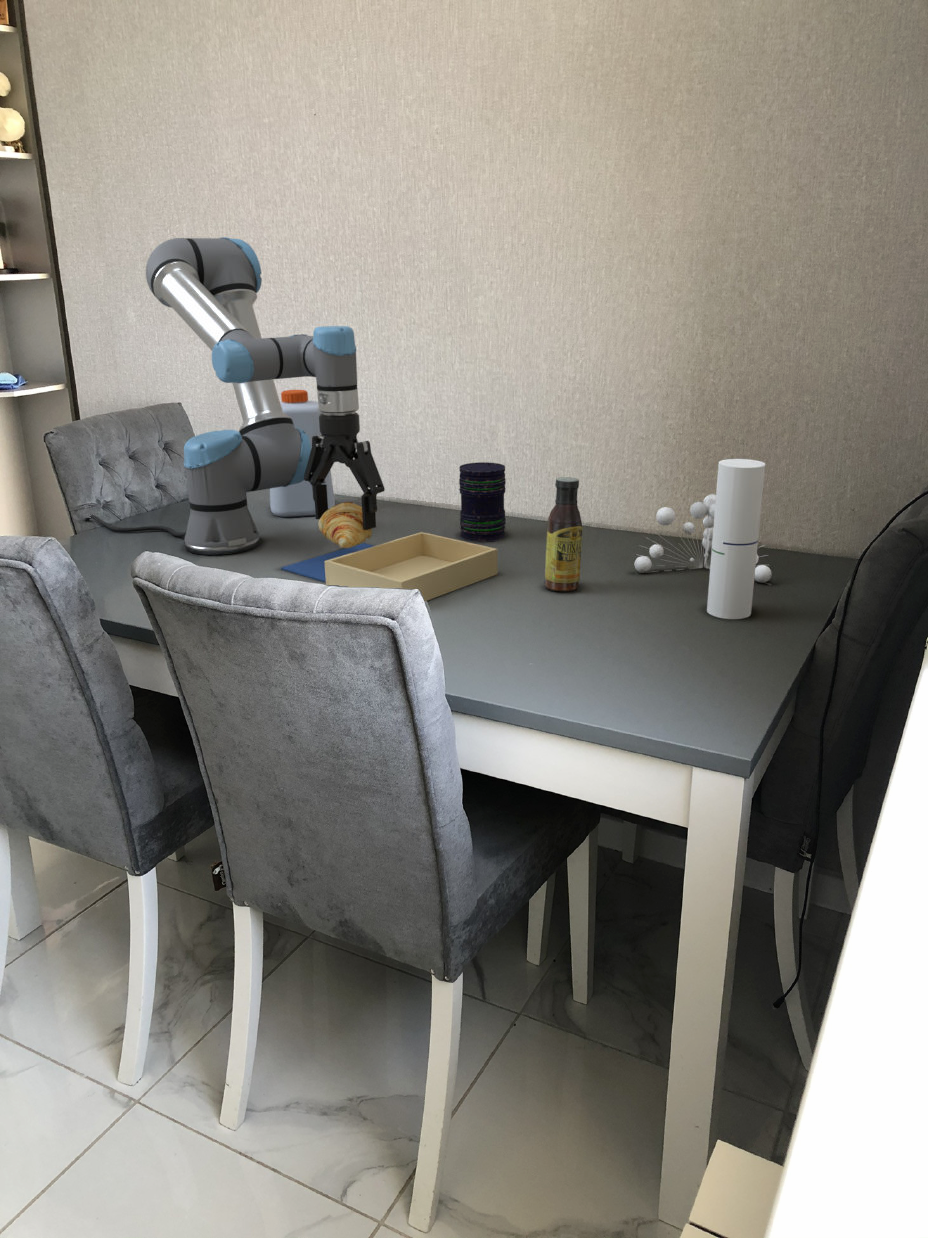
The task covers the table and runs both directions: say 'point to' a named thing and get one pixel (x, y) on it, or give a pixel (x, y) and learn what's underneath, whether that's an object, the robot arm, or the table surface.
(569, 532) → the sauce bottle
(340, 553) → the cloth mat
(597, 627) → the table surface
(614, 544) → the table surface
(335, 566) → the wooden tray
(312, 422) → the plastic bottle
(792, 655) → the table surface
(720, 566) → the cylindrical container
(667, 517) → the decorative flower
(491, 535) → the storage jar
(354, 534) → the croissant
